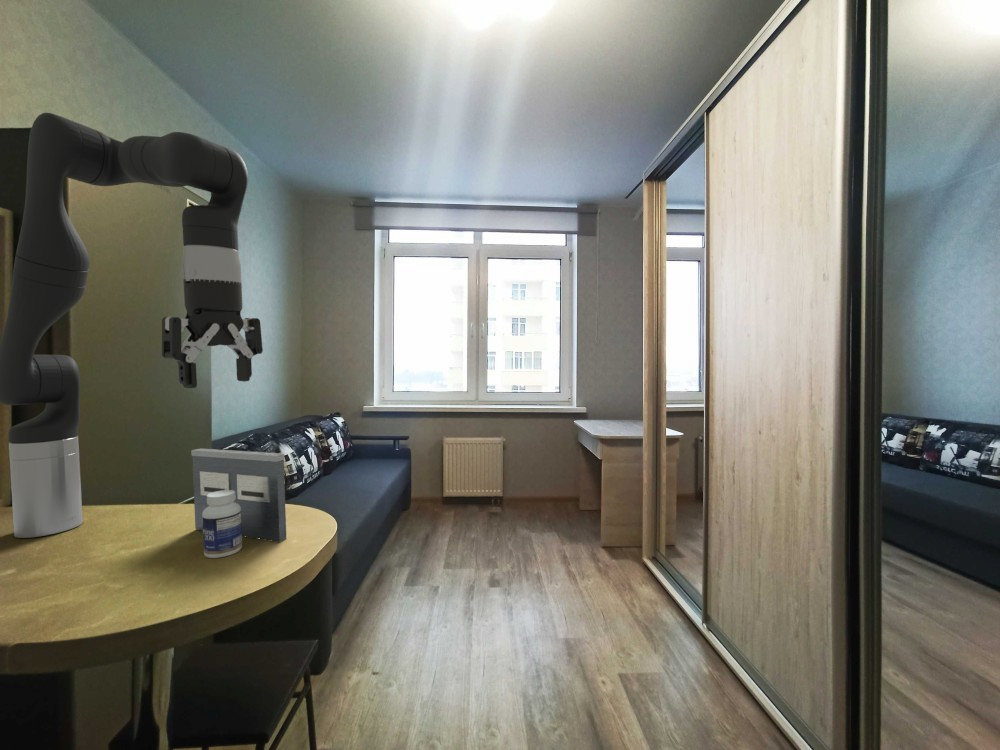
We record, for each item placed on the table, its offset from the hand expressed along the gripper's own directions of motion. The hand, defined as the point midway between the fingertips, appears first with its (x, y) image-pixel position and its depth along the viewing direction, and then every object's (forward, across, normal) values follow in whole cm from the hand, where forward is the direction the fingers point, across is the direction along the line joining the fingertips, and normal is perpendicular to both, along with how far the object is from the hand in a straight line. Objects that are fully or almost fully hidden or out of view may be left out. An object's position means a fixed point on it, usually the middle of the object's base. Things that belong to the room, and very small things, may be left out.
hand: (218, 384), depth 70 cm
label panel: (+29, -6, -5) cm, 30 cm away
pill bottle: (+28, 0, 0) cm, 28 cm away
